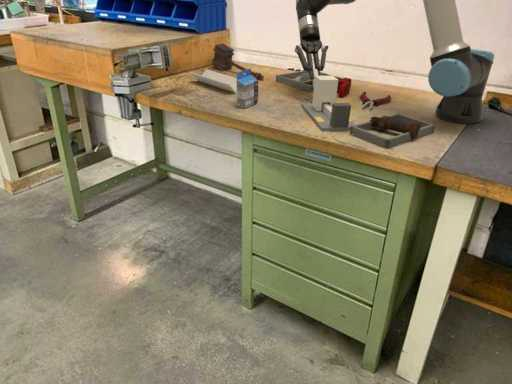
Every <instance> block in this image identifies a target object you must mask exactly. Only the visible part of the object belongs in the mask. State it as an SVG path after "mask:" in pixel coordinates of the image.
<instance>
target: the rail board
mask: <svg viewBox="0 0 512 384" xmlns="http://www.w3.org/2000/svg"><path fill="white" fill-rule="evenodd" d="M301 108H302V109H303V110H304V111H305V112H306V113H307V115H308V116H309V117H310V118H311V119H312V121H313V122H314V124H315V125H316V126H317V127H318V128H319V130H320V131H321V132H333V131H335V132H336V131H337V132H338V131H339V130H345V131H350V127H351V126H353V125H357V123H355V122H354V121H353V120H352V119H351V118H350V117H351V112H352V111H351V110H352V105H351V104H350V103H349V102H336V103H333V104H332V107H331V106H330V105H329V104H328V103H327V102H322V108H321V111H316V110H315V109H314V108H313V107H312V102H307V103H302V102H301ZM339 132H340V131H339Z"/></svg>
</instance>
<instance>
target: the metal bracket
mask: <svg viewBox="0 0 512 384" xmlns="http://www.w3.org/2000/svg"><path fill="white" fill-rule="evenodd" d="M323 73H324V72H322V73H320V74H321V76H323ZM294 80H295V81H298V82H302V83H307V82H313V80H311V79H310V75H309V73H308V72H307V73H302V74H301V76H299V77H296V78H294Z"/></svg>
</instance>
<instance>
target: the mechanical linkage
mask: <svg viewBox="0 0 512 384" xmlns="http://www.w3.org/2000/svg"><path fill="white" fill-rule="evenodd" d="M342 78H343V77H342ZM351 86H352V79H351V77H350V78H348V77H344V78H343V79H341V80H338V87H337V94H338V97H339V98H345V97H347V96H349V95H350V91H351Z"/></svg>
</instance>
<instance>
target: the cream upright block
mask: <svg viewBox="0 0 512 384" xmlns="http://www.w3.org/2000/svg"><path fill="white" fill-rule="evenodd" d="M334 76H335V75H333V76H315V82H314V92H312V93H313V94H312V102H311V103H312V107H313V108H314V109H315V110H316V111H321V108H322V102H327V103H328V104H329V105H330V106H331V107H332V104H333V103H337V102H336V99H337V94H338V93H337V87H338V79H337V78H335V77H334Z"/></svg>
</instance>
